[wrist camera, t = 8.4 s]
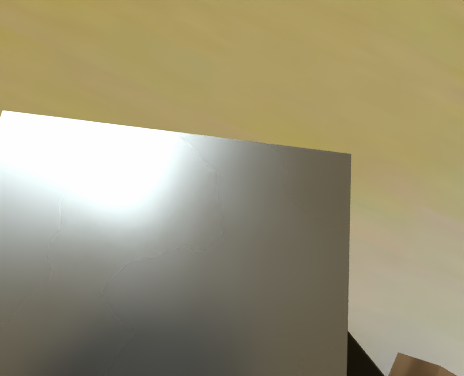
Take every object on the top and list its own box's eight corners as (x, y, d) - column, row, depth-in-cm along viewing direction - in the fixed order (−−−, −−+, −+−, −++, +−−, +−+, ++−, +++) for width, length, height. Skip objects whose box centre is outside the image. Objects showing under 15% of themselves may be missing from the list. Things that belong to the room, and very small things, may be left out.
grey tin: (245, 381, 15) (343, 560, 5) (94, 369, 14) (-110, 536, 5) (257, 233, 16) (350, 154, 7) (119, 218, 16) (2, 111, 6)
